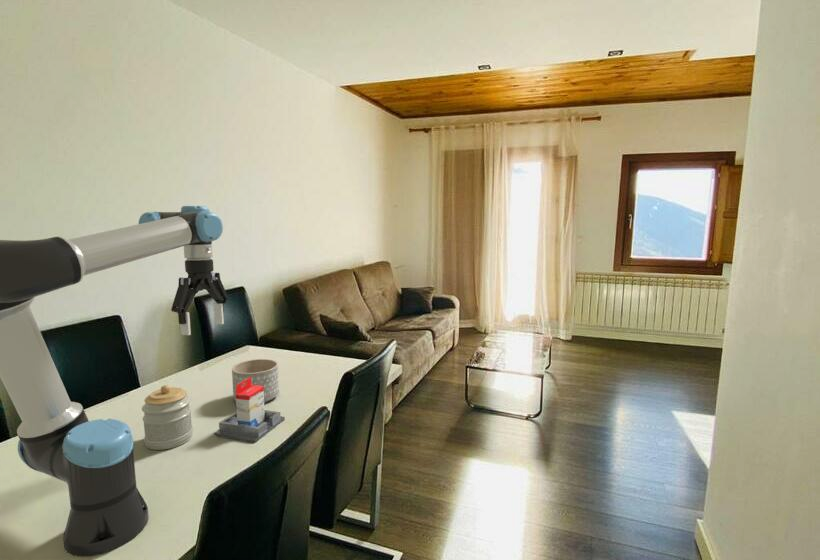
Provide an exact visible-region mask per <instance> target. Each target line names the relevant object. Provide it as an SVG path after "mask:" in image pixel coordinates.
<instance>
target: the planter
mask: <svg viewBox="0 0 820 560" xmlns="http://www.w3.org/2000/svg"><path fill="white" fill-rule="evenodd" d="M231 376H232V378H231V379H232V393H233V394H232V395H233V400H234V401H235V402H236V385H237V384H239V383H241V382H242V381H244V380H246V379H248V378H249V377H251V378H252V379H251V385H259V386H264V404H265V403H268V402H270V401H272V400H273V399H274V398H276V397H277V396H278V395H279V394H280V386H279V385H280V383H279V382H280V381H279V363H278V361H275V360H273V359H266V358H258V359H257V358H256V359H249V360H244V361H241V362H238V363H236V364H234V365H233V366H232V367H231ZM245 385H246V383H244V384H243V385H242V386H241V387H243V386H245Z"/></svg>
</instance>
